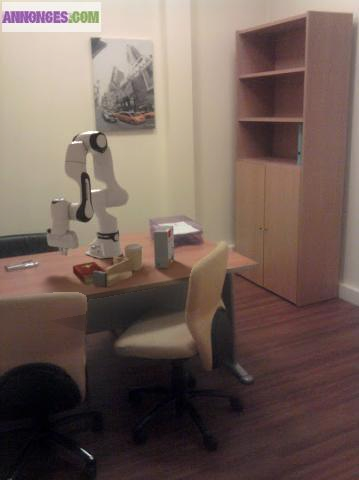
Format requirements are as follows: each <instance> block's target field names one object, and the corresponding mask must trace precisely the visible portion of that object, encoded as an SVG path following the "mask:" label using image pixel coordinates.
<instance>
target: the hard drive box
mask: <svg viewBox="0 0 359 480" xmlns="http://www.w3.org/2000/svg"><path fill="white" fill-rule="evenodd" d="M174 235H175V234H174V225H161V224H160V226H159V227H157V229H155V231H154V232H153V248H154V249H153V251H154V253H153V254H154V268H156V269H169V268H170V267H171V265H172V264H173V263H174V261H175V242H174V241H175V236H174Z"/></svg>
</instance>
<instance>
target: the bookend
mask: <svg viewBox="0 0 359 480" xmlns="http://www.w3.org/2000/svg"><path fill="white" fill-rule="evenodd" d="M93 278H94V282H93V285H94V286H98V287H101V288H107V287H108V286H107V279H106V273H105V272H100V271H93Z"/></svg>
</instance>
